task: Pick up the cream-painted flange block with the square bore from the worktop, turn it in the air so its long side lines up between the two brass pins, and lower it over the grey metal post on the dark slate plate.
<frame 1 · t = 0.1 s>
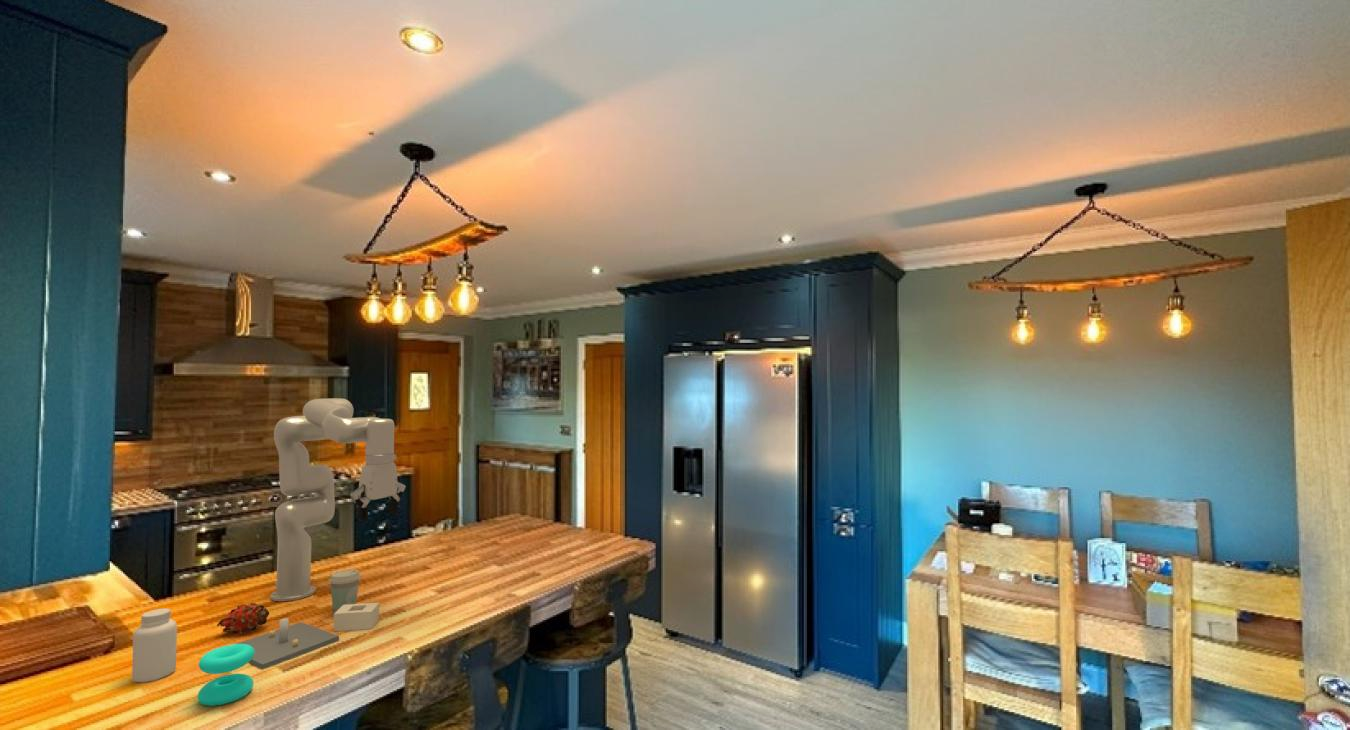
hand: (378, 517, 173), 31 cm above the kitchen island, fingers open, 9 cm apart
coffee cup: (344, 612, 180), on the kitchen island
flange block: (356, 625, 170), on the kitchen island
pill bottle: (154, 675, 140), on the kitchen island
pin plate: (283, 645, 156), on the kitchen island
dragon fruit: (243, 633, 164), on the kitchen island
donuts: (225, 697, 131), on the kitchen island
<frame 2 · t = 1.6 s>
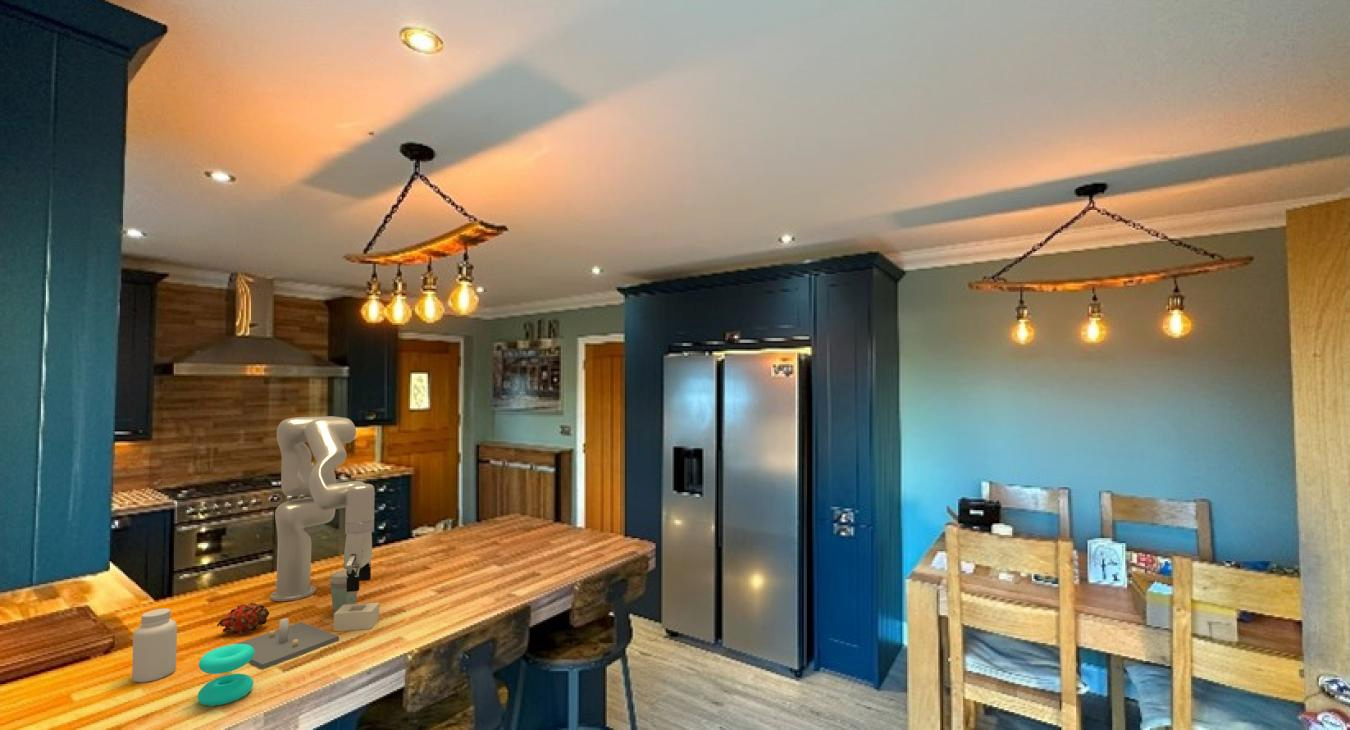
hand: (358, 585, 170), 12 cm above the kitchen island, fingers open, 9 cm apart
nothing on the kitchen island moved.
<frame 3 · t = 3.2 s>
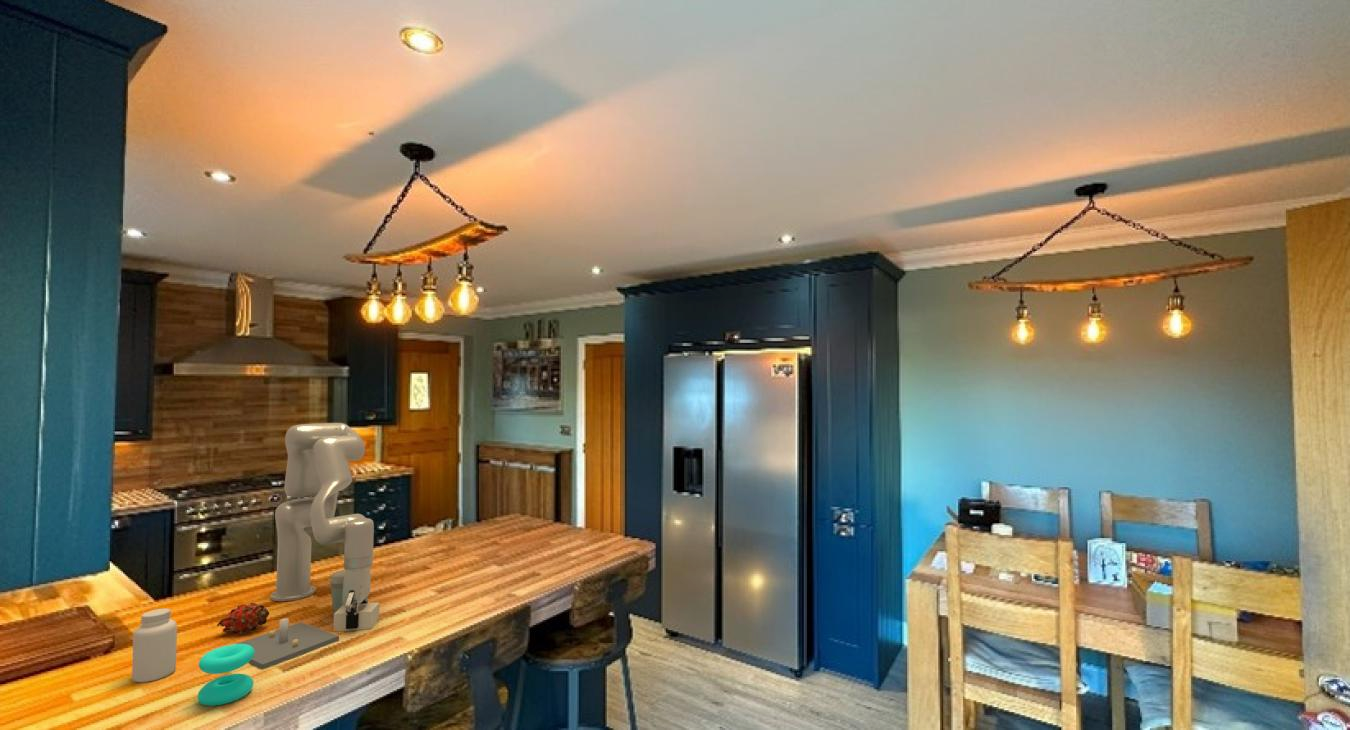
hand: (356, 622, 170), 1 cm above the kitchen island, fingers closed on flange block, 7 cm apart
flange block: (356, 625, 170), on the kitchen island, touching gripper
everything else where it was.
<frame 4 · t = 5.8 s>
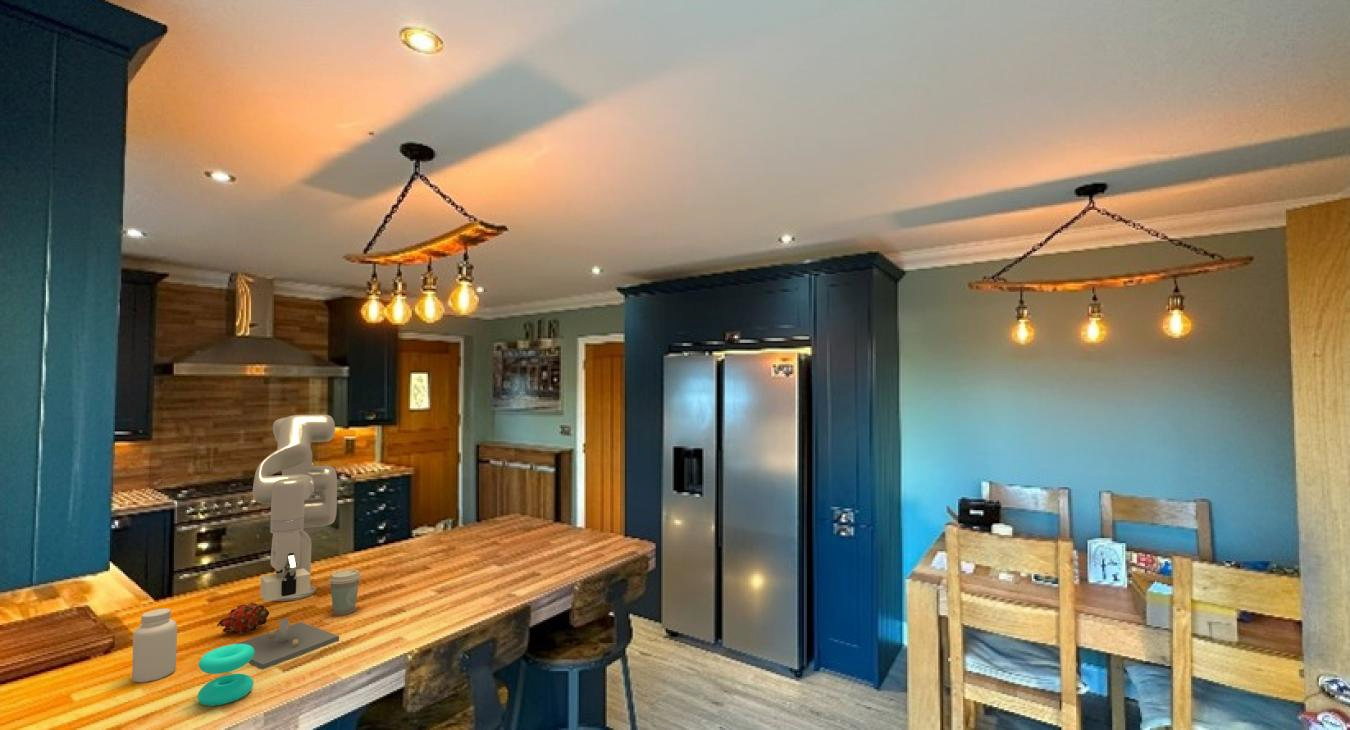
hand: (285, 590, 156), 15 cm above the kitchen island, fingers closed on flange block, 7 cm apart
flange block: (285, 593, 156), point 14 cm above the kitchen island, touching gripper
everything else where it was.
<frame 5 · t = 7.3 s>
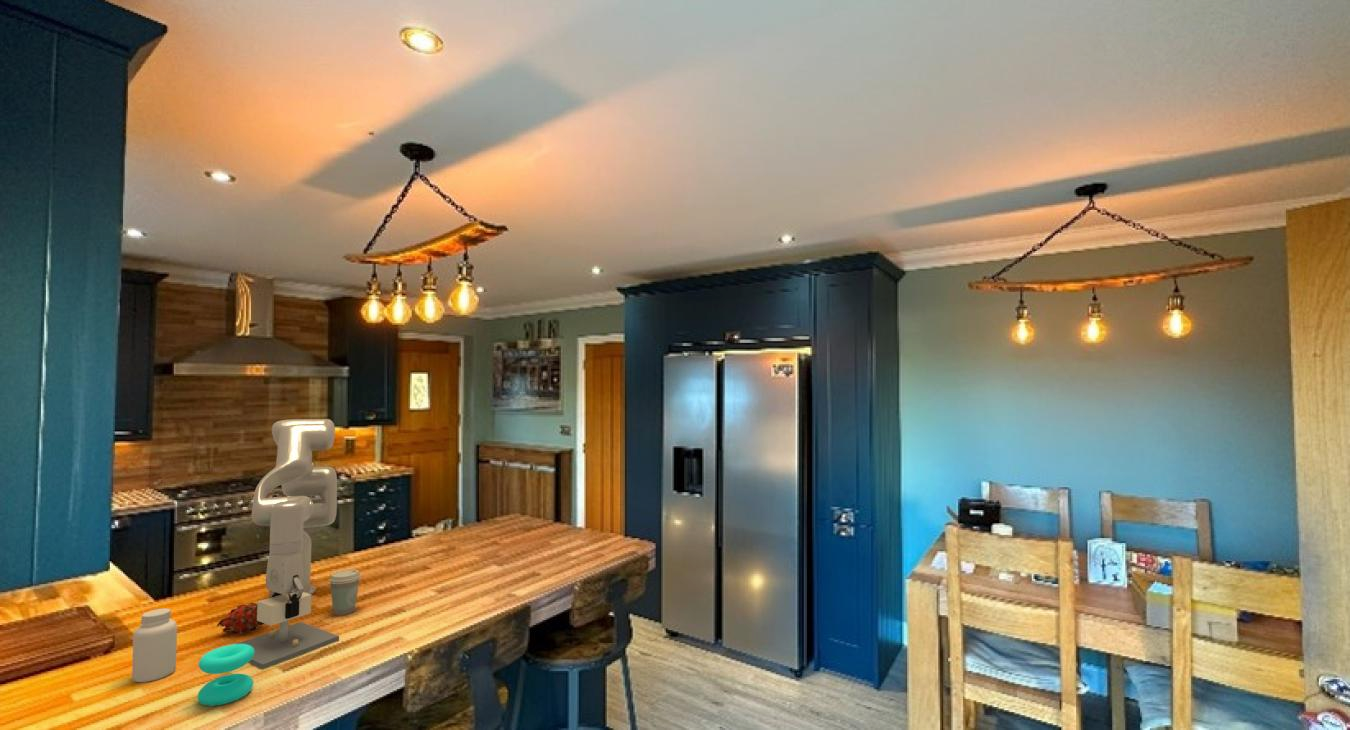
hand: (284, 613, 156), 9 cm above the kitchen island, fingers closed on flange block, 7 cm apart
flange block: (284, 616, 156), point 8 cm above the kitchen island, touching gripper
everything else where it was.
when the fingers open (4 cm above the kitchen island, at t = 8.6 s): flange block drops 2 cm, resting on pin plate.
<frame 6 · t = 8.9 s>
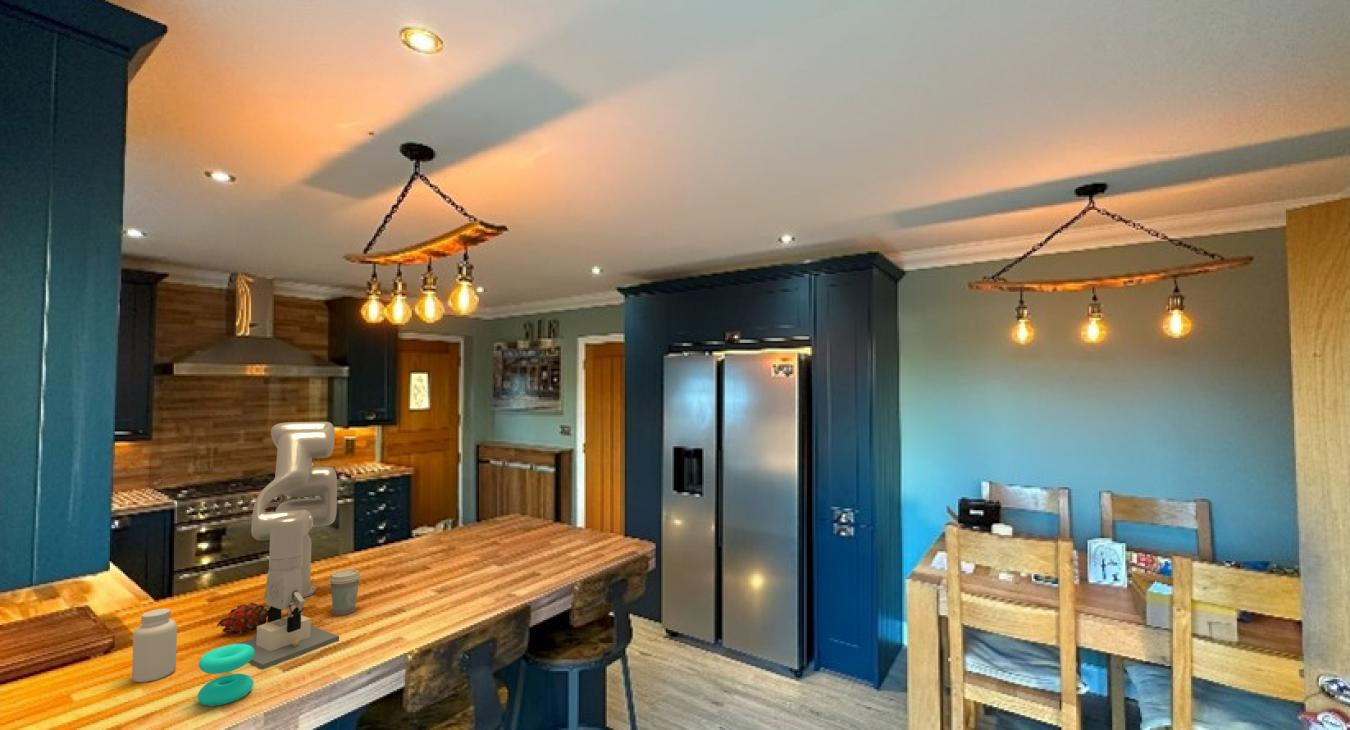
hand: (283, 626, 156), 5 cm above the kitchen island, fingers open, 9 cm apart
flange block: (283, 641, 156), point 1 cm above the kitchen island, touching pin plate
everything else where it was.
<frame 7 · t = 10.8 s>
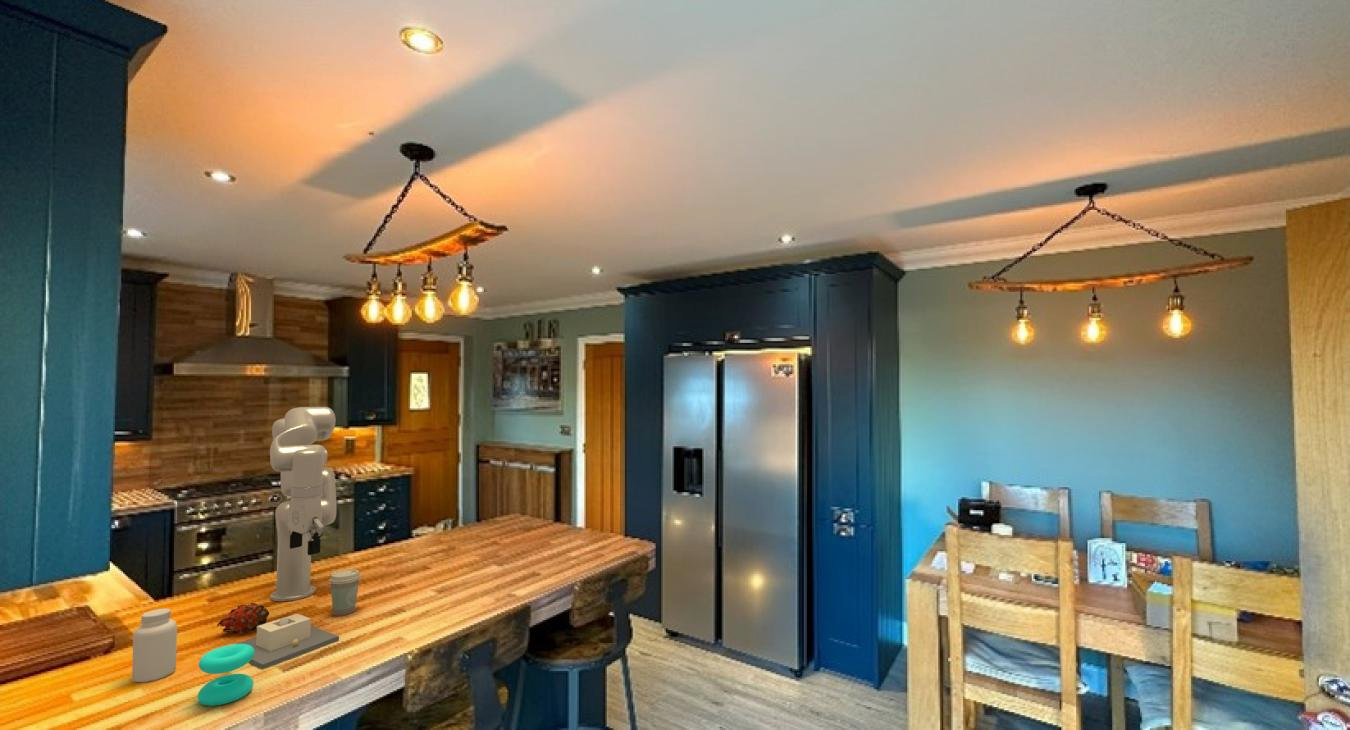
hand: (304, 550, 168), 22 cm above the kitchen island, fingers open, 9 cm apart
nothing on the kitchen island moved.
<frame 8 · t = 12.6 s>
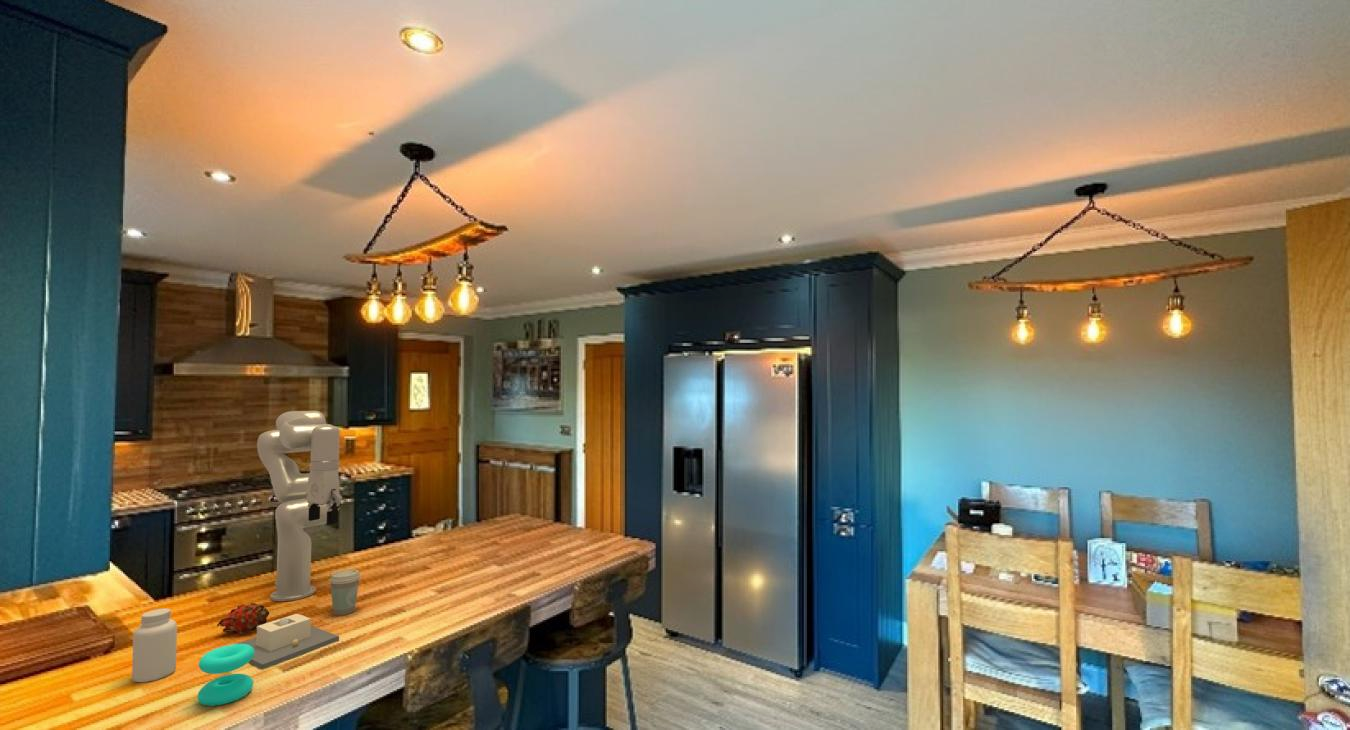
hand: (323, 521, 178), 28 cm above the kitchen island, fingers open, 9 cm apart
nothing on the kitchen island moved.
at the end: flange block 0.1 cm off-centre on the pin plate, point 1.2 cm above the pin plate's base; flange block tilted 0°; the gripper is holding nothing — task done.
